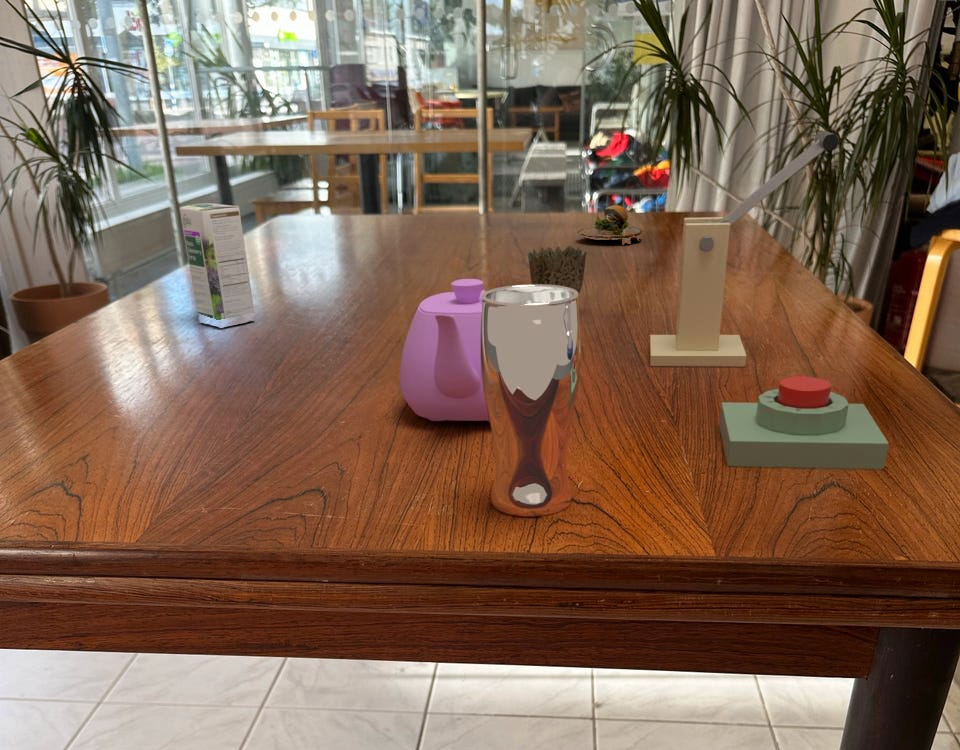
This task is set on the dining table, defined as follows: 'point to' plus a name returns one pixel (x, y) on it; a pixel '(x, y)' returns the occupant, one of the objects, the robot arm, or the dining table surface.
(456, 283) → the teapot
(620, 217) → the moss table decoration
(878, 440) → the button box
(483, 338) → the beer glass
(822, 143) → the lever
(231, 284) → the syrup box
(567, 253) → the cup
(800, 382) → the button
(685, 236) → the bracket
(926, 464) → the dining table surface
